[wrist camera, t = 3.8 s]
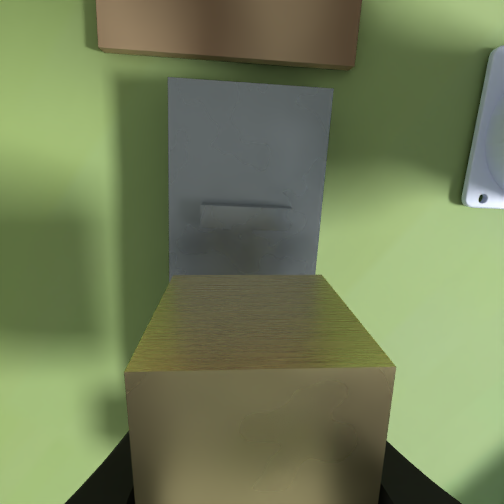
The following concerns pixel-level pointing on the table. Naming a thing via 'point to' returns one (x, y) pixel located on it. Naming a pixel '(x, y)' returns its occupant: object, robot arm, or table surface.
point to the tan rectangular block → (257, 395)
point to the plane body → (245, 176)
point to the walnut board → (234, 30)
